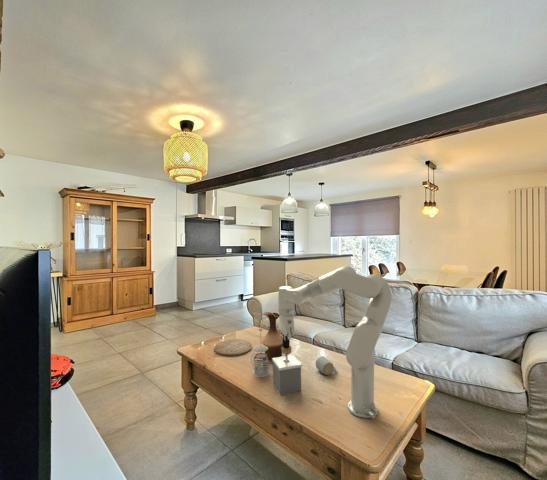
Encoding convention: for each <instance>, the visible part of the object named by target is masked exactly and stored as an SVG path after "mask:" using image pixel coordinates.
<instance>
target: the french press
mask: <svg viewBox="0 0 547 480" xmlns="http://www.w3.org/2000/svg"><path fill="white" fill-rule="evenodd" d="M258 331H259V332H260V334H259V335H262V331H263V328H259V329H258ZM267 350H268V347H267V346H265V345H263V344H258V345H256V346H254V347H253V351H255V352H257V353H254V354H252V355H251V359H250V364H251V365H252V366H253V371H252V375H253V376H254V375H255V376H254V377H256V376H257V378H265V377H268V376H269V375H270V374H271V371H270V370H269V359H268V357H267V354H265V351H267ZM253 356H254V357H253Z"/></svg>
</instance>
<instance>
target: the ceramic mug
mask: <svg viewBox="0 0 547 480" xmlns="http://www.w3.org/2000/svg"><path fill="white" fill-rule="evenodd" d="M315 367H316V369H317V370H318V371H319V372H321V373H322V374H324V375H325V376H330V375H331V374H332V373H333V372H334V373H335V372H337V368H336V367H335V366H334V364H333V363H332V362H331V361H330V360H329V359H328V358H327V357H325V356H323V355H322V356H319V357H318V358H317V359H316V361H315Z"/></svg>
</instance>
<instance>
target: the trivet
mask: <svg viewBox="0 0 547 480" xmlns="http://www.w3.org/2000/svg"><path fill="white" fill-rule="evenodd" d="M251 350H252V343H251V342H250V341H248V340H245V339H240V338H239V339H238V338H233V339H225V340H222V341H220V342H217V343H216V344H215V345H214V350H213V351H214V353H215V354H217V355H219V356H222V355H223V357H238V356H243V355H245V354H247V353H249V352H251Z"/></svg>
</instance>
